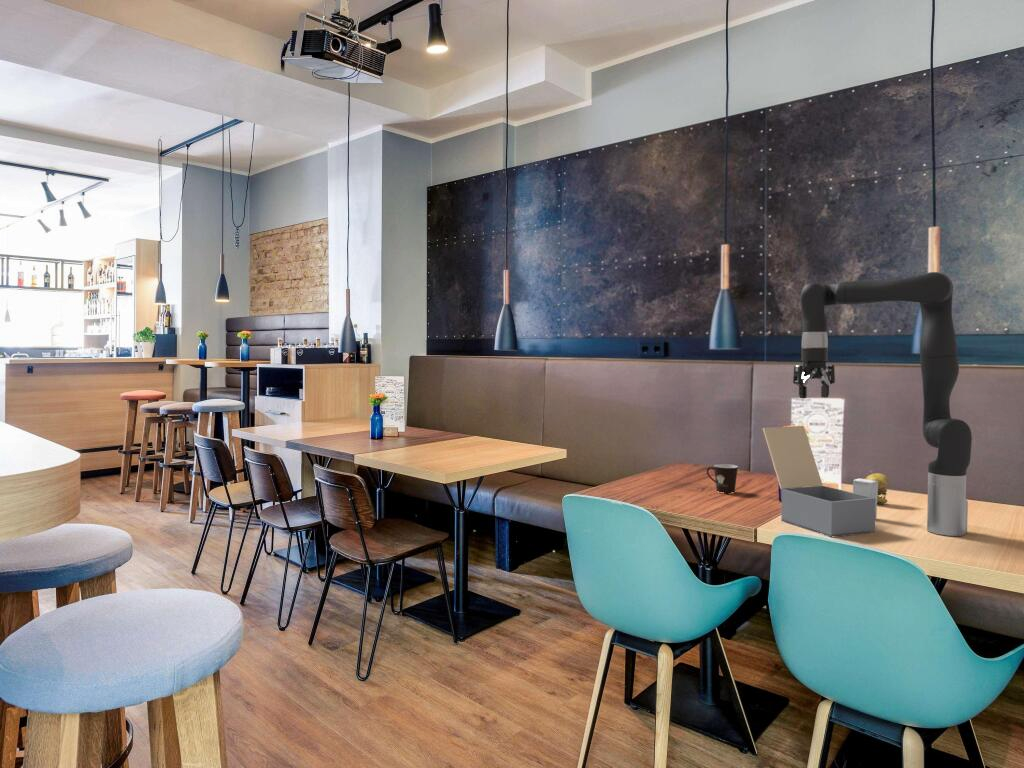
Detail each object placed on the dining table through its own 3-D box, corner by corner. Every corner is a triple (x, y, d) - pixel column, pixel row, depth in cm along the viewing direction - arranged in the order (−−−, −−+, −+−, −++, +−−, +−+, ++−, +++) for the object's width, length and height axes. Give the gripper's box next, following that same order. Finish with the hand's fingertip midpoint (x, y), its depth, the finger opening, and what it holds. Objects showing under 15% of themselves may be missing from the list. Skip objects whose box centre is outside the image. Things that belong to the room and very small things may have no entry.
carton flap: (822, 484, 210) (809, 490, 216) (803, 425, 217) (790, 432, 223) (781, 488, 205) (768, 493, 211) (763, 427, 212) (751, 434, 218)
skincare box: (851, 517, 209) (851, 479, 209) (857, 515, 212) (858, 477, 212) (871, 521, 204) (871, 482, 204) (877, 518, 207) (878, 480, 207)
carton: (822, 516, 210) (822, 485, 210) (874, 532, 191) (875, 498, 191) (781, 520, 205) (781, 489, 205) (831, 537, 186) (831, 502, 186)
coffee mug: (742, 493, 246) (742, 467, 246) (722, 495, 244) (722, 468, 243) (724, 488, 257) (724, 462, 257) (704, 489, 255) (705, 463, 255)
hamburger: (893, 505, 226) (894, 470, 225) (878, 507, 223) (878, 472, 222) (873, 501, 233) (874, 467, 232) (858, 502, 230) (859, 468, 230)
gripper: (823, 346, 214) (822, 396, 215) (787, 346, 210) (787, 397, 210) (841, 346, 207) (840, 397, 208) (805, 346, 202) (804, 399, 203)
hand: (813, 397), depth 209 cm, fingers open, 8 cm apart
